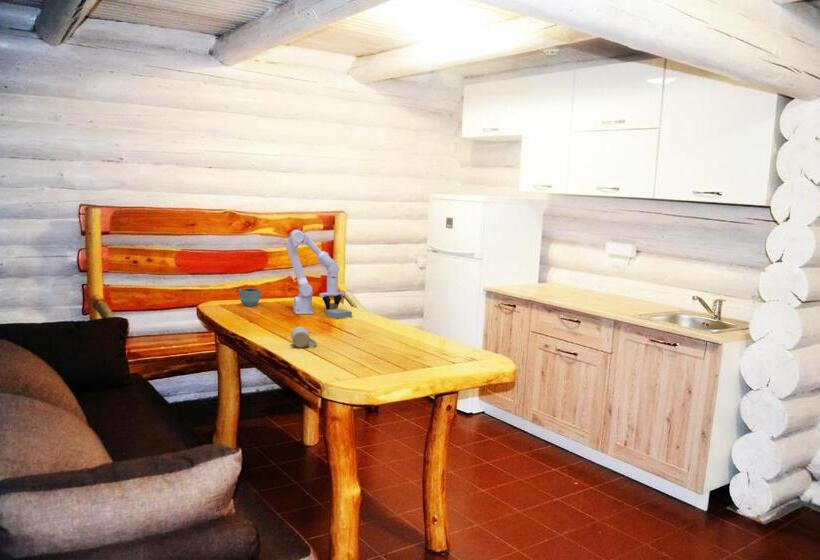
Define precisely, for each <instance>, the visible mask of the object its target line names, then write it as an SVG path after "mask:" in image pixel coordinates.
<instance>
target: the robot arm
mask: <svg viewBox="0 0 820 560" xmlns="http://www.w3.org/2000/svg"><path fill="white" fill-rule="evenodd" d="M301 244H303V245H306V246H308V248H309V249H310V250H311V251H312V252H313V253H314V254H315V255H316V259H317V261H318V262H320V263H321V265H322V266H323V267H324V268H325V269H326V270H327V276H326V291H325V292H321V293H319V298H322V300H323V302H324V305H325V310H329V309H330V303H331V300H332V299H331V297H333V303H335V304H338V306H340V305H339V304H340V302H341V300H342V299H343V297H344V296H345V292H344V291H339V290H338V289H339V287H338V286H339V271H340V267H339V265H338V263H336V261H335V259H333V258H331V256H330V255H329V252H326V251H325V250H321V249H320V248H319V247H318V246H317V244H316V243H315V242H313V239H311V238H310V237H309V236H307V235H306V234H305V233H304V232H303V231H301V230H300V229H294V230H291V232H290V234H289V235H288V239H287V244H286V247H285V248H286V249H285V250H286V252H287V255H288V258H289V260H290V263H291V266H292V269H293V271H294V275H295V277H296V280H297V284H298V292H299V293H298V295H297V296H294V297H293V310H292V311H293V313H295V315H305V314H308V315H309V314H311V315H313V314H315V312H314V311H313V291H314V290H313V287H312V285H310V284H309V282H308V279H307V277H306V274H305V271H304V269H303V266H302V263H301V260H300V257H299V253H298V252H297V249H298V247H299V246H300V245H301Z"/></svg>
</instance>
